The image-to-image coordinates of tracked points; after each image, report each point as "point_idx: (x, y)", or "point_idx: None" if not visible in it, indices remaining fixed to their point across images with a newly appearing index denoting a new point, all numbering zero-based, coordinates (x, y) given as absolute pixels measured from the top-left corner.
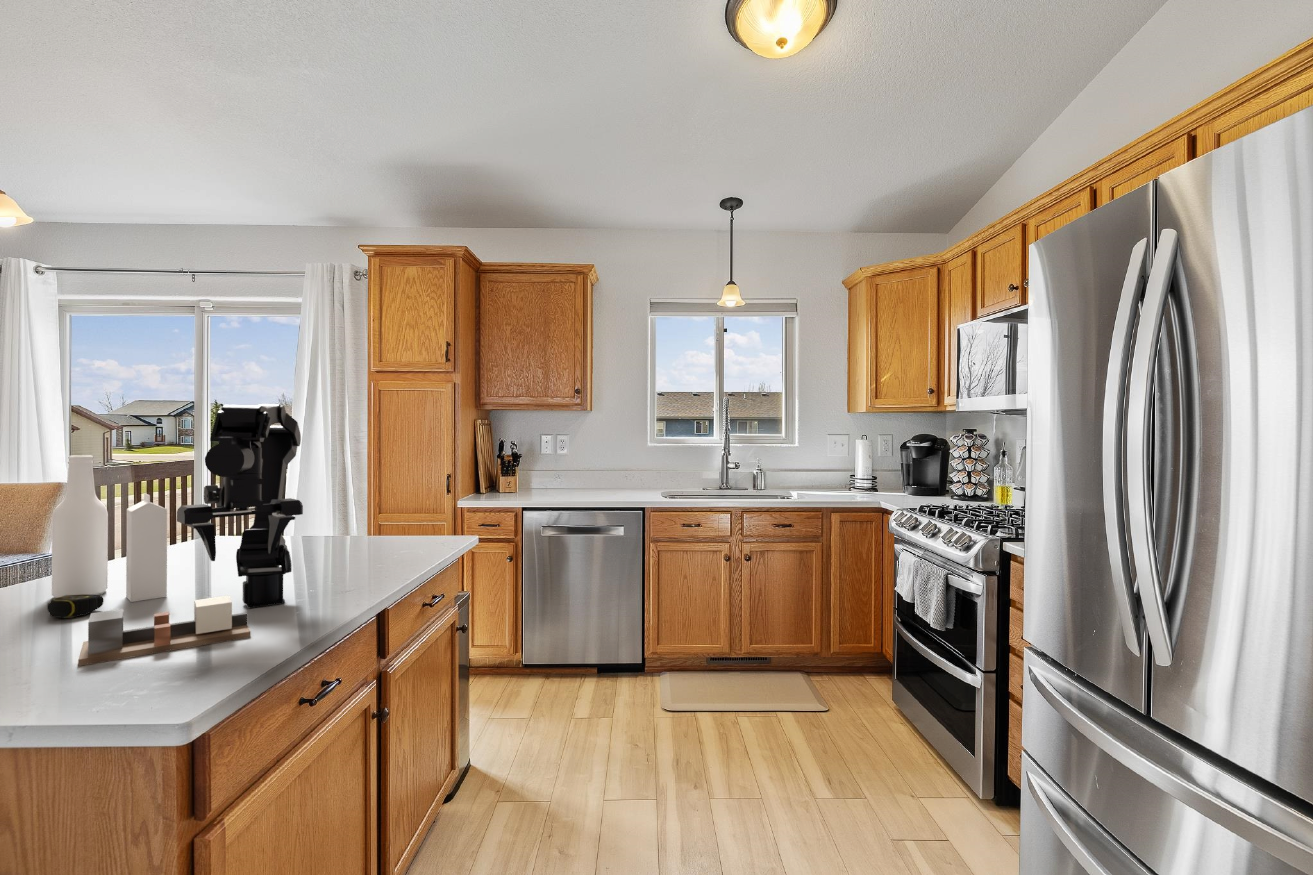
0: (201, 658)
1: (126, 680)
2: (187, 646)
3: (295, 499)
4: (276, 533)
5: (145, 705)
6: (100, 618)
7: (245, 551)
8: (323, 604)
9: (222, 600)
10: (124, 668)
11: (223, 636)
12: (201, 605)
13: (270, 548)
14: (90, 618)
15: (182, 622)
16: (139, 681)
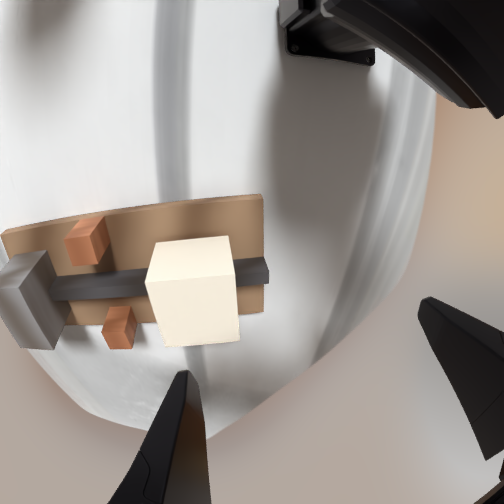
0: (192, 361)
1: (126, 383)
2: None
3: None
4: (463, 403)
5: None
6: (22, 335)
7: (377, 10)
8: (426, 138)
9: (218, 318)
10: (105, 352)
11: None
12: (174, 340)
13: (429, 337)
14: (7, 327)
15: (136, 287)
16: (141, 390)
